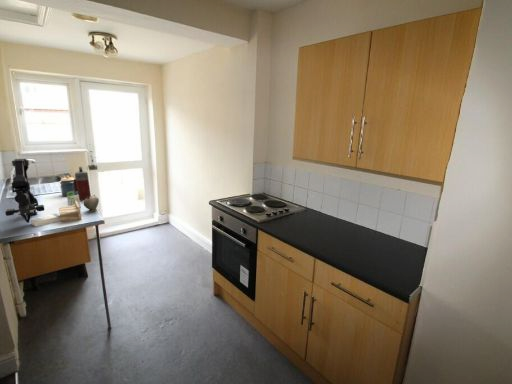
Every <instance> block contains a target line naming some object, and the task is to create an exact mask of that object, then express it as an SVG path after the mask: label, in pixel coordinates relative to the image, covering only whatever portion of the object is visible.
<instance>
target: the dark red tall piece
mask: <svg viewBox="0 0 512 384" xmlns="http://www.w3.org/2000/svg"><path fill="white" fill-rule="evenodd" d="M74 178H75V179H74V182H73V184H74V190H75V191H78V194H77V195H79V200H80V201H84V200H85V199H86V198H87V197H89V196H92V195H91V189H90V188H91V187H90V181H89V173H88V171H87V170H84V171H83V166H78V171H75V172H74Z"/></svg>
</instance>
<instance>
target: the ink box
mask: <svg viewBox="0 0 512 384" xmlns="http://www.w3.org/2000/svg"><path fill="white" fill-rule="evenodd" d="M69 193H73V194H70V195H69ZM66 197H67V206H73V205H75V201H77V202H78V204H79V206H80V209H81V200H79V195H78V194H77V195H74V191H71V192H67V196H66Z"/></svg>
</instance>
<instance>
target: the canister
mask: <svg viewBox="0 0 512 384" xmlns="http://www.w3.org/2000/svg"><path fill="white" fill-rule="evenodd" d="M74 179H76V178H75V177H74V176H73V177H72V176H71V177H70V176H69V175H65V177H63V178H61V179H60V182H59V184H60V191H61V195H62V197H67V192H71V191H74V195H78V191H75V190H74V184H73V182H74ZM70 194H73V193H69V195H70Z"/></svg>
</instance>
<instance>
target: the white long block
mask: <svg viewBox="0 0 512 384" xmlns="http://www.w3.org/2000/svg"><path fill="white" fill-rule="evenodd" d="M56 222H61V217H60V214H58V213H53V214H49V215H45V216H40V217H34V218H30V224H31V225H32V226H34V227H39V226H44V225H49V224H51V223H56Z"/></svg>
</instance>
